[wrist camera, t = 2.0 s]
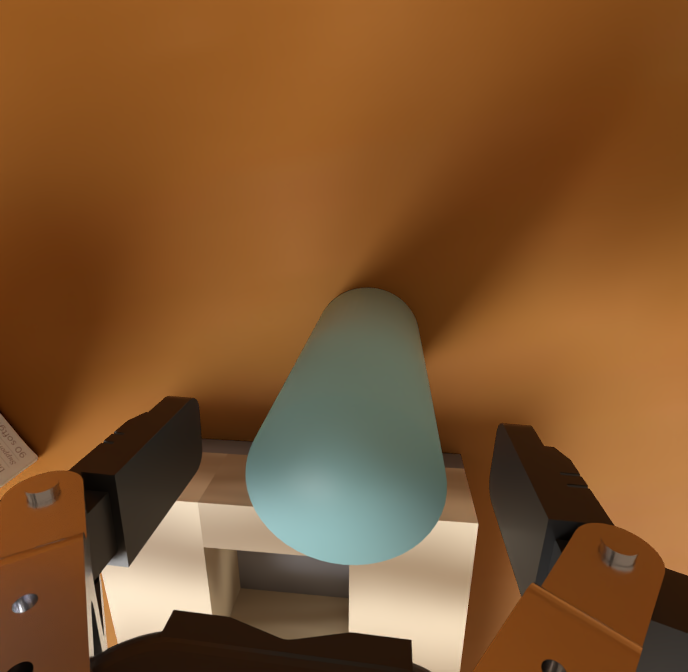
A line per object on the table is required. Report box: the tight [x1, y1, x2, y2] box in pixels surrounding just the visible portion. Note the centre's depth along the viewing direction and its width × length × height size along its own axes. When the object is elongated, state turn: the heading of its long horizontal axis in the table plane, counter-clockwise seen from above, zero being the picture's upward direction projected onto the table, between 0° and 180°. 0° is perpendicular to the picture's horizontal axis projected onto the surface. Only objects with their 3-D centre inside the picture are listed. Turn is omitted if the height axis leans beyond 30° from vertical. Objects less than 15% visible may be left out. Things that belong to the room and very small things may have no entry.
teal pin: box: [246, 288, 447, 565], centre depth 13 cm, size 4×4×9 cm
